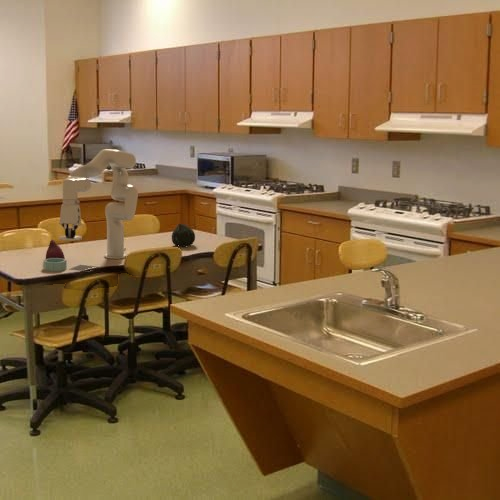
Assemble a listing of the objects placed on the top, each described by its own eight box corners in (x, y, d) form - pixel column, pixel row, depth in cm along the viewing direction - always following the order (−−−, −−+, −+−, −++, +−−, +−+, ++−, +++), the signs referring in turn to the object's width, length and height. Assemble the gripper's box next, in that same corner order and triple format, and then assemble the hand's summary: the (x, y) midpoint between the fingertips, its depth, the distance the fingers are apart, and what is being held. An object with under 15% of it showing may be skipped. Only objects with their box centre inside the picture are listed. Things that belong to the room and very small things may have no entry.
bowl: (51, 266, 392) (51, 257, 391) (69, 268, 389) (69, 259, 388) (40, 270, 382) (40, 261, 381) (58, 272, 379) (58, 263, 378)
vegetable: (55, 270, 397) (52, 246, 390) (42, 265, 402) (38, 241, 395) (69, 263, 404) (66, 239, 397) (56, 258, 409) (53, 234, 402)
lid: (65, 236, 391) (65, 225, 390) (86, 238, 388) (86, 227, 387) (54, 239, 380) (54, 228, 379) (75, 241, 377) (75, 230, 376)
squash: (202, 237, 462) (189, 218, 463) (191, 241, 448) (177, 222, 450) (188, 249, 468) (174, 231, 470) (176, 254, 455) (162, 235, 456)
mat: (80, 265, 397) (80, 264, 397) (100, 267, 393) (100, 266, 393) (68, 270, 385) (68, 269, 385) (89, 272, 382) (89, 271, 382)
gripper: (87, 202, 382) (87, 237, 385) (59, 200, 386) (60, 234, 389) (80, 204, 375) (80, 239, 378) (52, 202, 379) (52, 236, 382)
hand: (70, 236), depth 384 cm, fingers closed on lid, 2 cm apart
